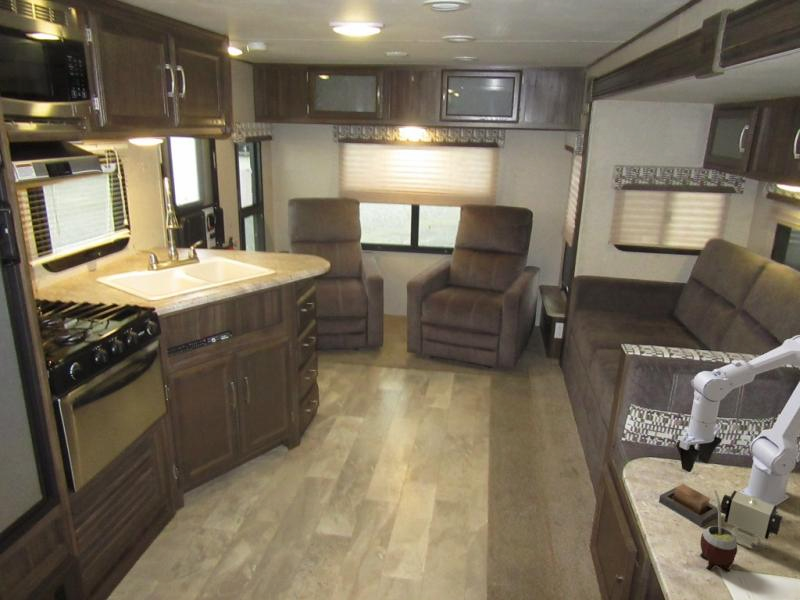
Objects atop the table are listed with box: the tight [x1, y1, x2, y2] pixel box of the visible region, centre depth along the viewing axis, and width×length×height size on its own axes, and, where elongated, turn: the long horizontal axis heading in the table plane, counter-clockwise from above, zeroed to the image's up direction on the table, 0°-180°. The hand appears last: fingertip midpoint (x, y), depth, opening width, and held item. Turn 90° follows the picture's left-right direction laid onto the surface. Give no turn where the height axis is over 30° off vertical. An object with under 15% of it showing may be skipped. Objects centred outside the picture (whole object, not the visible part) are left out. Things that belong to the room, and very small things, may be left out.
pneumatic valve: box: [720, 490, 784, 550], centre depth 132 cm, size 6×12×12 cm, turn 48°
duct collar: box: [658, 487, 718, 528], centre depth 145 cm, size 8×11×2 cm
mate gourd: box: [699, 490, 738, 573], centre depth 125 cm, size 8×8×15 cm
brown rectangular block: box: [673, 483, 710, 516], centre depth 145 cm, size 7×4×5 cm, turn 33°
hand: (694, 465), depth 148 cm, fingers open, 7 cm apart
